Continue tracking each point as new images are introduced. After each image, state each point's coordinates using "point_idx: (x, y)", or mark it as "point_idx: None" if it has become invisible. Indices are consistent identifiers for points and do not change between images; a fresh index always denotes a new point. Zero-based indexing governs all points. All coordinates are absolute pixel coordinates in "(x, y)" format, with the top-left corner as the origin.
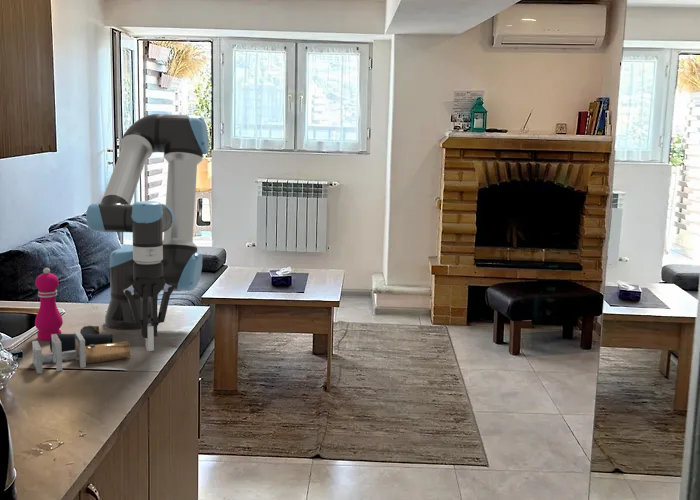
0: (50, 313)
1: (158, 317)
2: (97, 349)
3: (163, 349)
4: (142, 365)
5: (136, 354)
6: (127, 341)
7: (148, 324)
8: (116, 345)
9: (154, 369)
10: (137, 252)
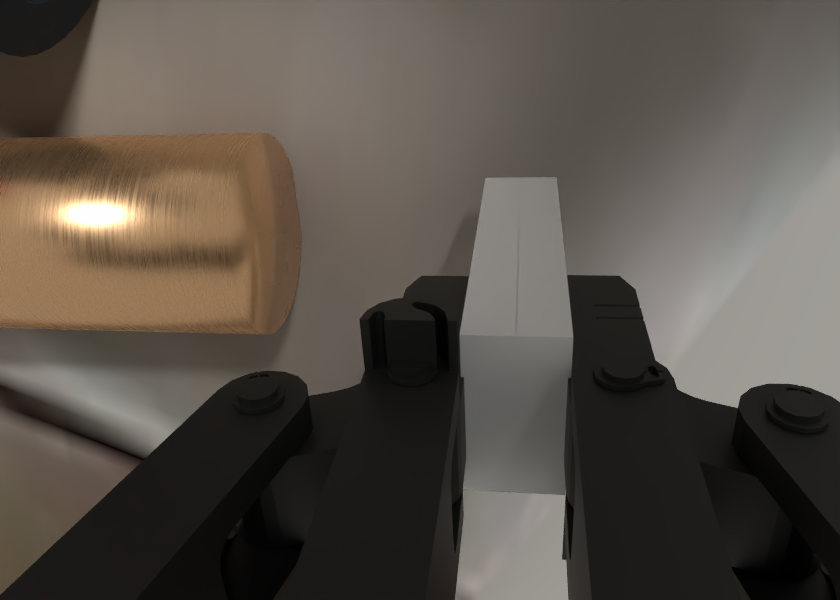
0: None
1: (743, 497)
2: None
3: (735, 80)
4: None
5: (386, 149)
6: (226, 277)
7: (517, 359)
8: (105, 321)
9: None
10: None
